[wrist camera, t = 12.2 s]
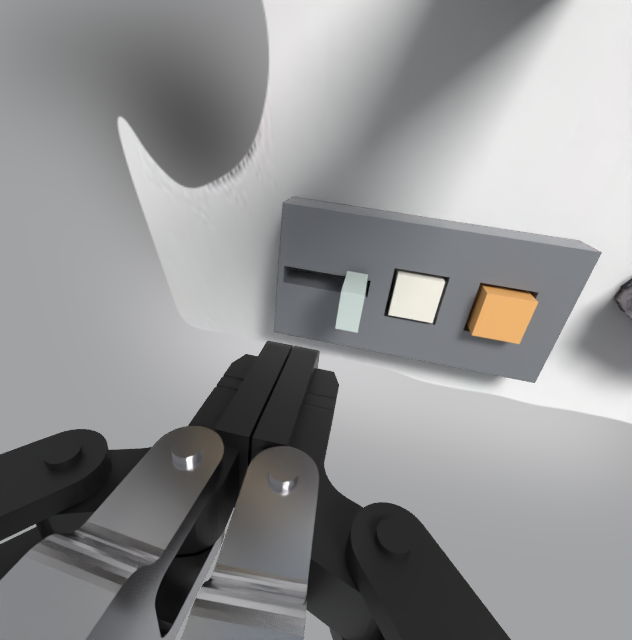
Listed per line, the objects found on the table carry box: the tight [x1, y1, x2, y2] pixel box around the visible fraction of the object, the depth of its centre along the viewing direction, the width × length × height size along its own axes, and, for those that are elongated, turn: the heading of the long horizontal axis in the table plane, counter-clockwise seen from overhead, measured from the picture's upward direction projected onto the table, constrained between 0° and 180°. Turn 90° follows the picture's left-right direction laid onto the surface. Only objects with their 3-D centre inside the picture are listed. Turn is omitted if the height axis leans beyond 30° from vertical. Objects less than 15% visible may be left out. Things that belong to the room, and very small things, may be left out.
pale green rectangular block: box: [335, 271, 368, 333], centre depth 34 cm, size 4×2×10 cm, turn 173°
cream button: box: [388, 268, 445, 323], centre depth 36 cm, size 4×4×4 cm
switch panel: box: [274, 197, 602, 383], centre depth 37 cm, size 14×28×4 cm, turn 83°
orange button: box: [466, 283, 538, 344], centre depth 34 cm, size 4×4×4 cm
